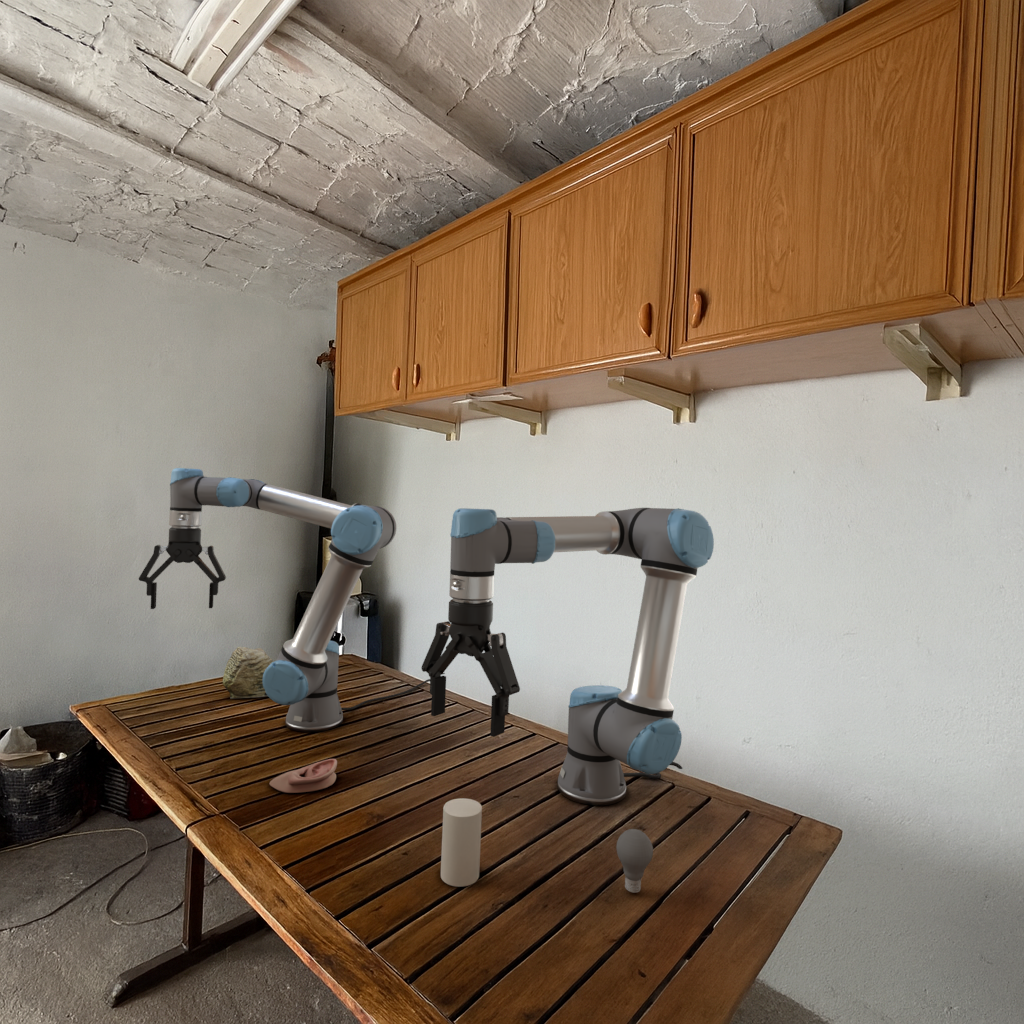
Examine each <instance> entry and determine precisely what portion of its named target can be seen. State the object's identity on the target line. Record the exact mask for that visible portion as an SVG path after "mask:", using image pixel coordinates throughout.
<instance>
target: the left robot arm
mask: <svg viewBox="0 0 1024 1024" xmlns="http://www.w3.org/2000/svg"><path fill="white" fill-rule="evenodd" d="M169 495H170V496H169V497H170V500H169V515H168V516H169V517H168V518H169V520H168V525H169V526H171V527H169V528H168V543H167V545H161V544H156V545H155V546H154V547H153V553H152V555H151V556H150V559H149V560H148V562H147V563H146V565H145V566H144V568H143V570H142V572H141V573H140V575H139V577H138V581H140V582H144V583H146V593H145V594H146V596H148V597H150V610H155V609H156V608H157V591H158V590H157V589H158V583H157V582H154V581H155V580H156V579H157V578H158V577H159V576H160V575H161V574H162V573H163V572H164V571H165V570H166V569H167V568H168V567H169V566H171V564H173V562H175V563H176V564H181V563H185V564H191V563H193V562H194V563H195V564H196V565H197V566H198V567H199V568H200V570H201V571H202V572H203V573H204V574H205V576H207V577H208V579H210V581H211V582H210V583H209V588H208V589H209V591H208V592H209V593H208V609H213V608H214V596H217V595H218V594H219V583H221V582H224V581H225V580H226V579H227V576H226V574H225V572H224V570H223V568H222V565H221V564H220V562H219V560H218V558H217V557H216V555H215V548H214V546H213V545H209V546H202V544H201V543H202V529H201V528H200V527H201V526H202V518H203V517H202V516H203V506H211V507H212V506H213V507H226V508H240V507H247V508H252V509H254V510H255V509H256V510H259V511H264V512H269V513H271V514H275V515H279V516H283V517H287V518H290V519H293V520H298V521H301V522H305V523H308V524H313V525H316V526H320V527H324V528H327V529H330V535H331V540H330V542H329V545H328V547H327V548H328V549H327V550H328V551H329V553H330V557H329V560H328V562H327V564H326V566H325V568H324V571H323V573H322V575H321V577H320V579H319V581H318V583H317V586H316V588H315V590H314V592H313V594H312V596H311V599H310V601H309V603H308V605H307V607H306V609H305V612H304V613H303V616H302V618H301V621H300V622H299V625H298V627H297V629H296V631H295V633H294V635H293V637H292V638H291V639H288V640H286V641H285V642H284V643H283V645H282V647H281V649H280V651H279V653H278V656H277V658H276V659H275V660H273V661H274V662H272V663H271V664H270V665H269V666H268V667H267V668H266V670H265V672H264V674H263V687H264V688H265V691H266V694H267V695H268V696H267V697H268V698H269V699H270V700H272V701H273V702H274V703H276V704H278V705H281V706H289V708H288V711H287V713H286V715H285V726H286V728H287V729H289V730H291V731H294V732H295V731H296V732H301V733H316V732H325V731H329V730H332V729H335V728H337V727H339V726H340V725H342V723H343V722H344V714H343V711H351V710H355V709H357V708H360V707H361V706H363V705H365V704H368V703H371V702H376V701H381V700H382V701H383V700H387V699H390V698H391V699H392V698H395V697H398V696H402V695H405V694H409V693H410V692H413V691H414V690H416V689H417V688H419V687H421V686H423V685H425V684H426V683H428V682H430V678H428V679H425V680H424V681H423V682H420V683H419V684H417V685H415V686H413V687H412V688H409V689H407V690H404V691H401V692H398V693H394V694H390V695H386V696H380V697H375V698H374V697H373V698H371V699H367V700H363V701H361V702H360V703H358V704H356V705H354V706H350V707H342V706H341V702H340V699H339V695H338V682H339V662H340V661H339V660H340V645H339V643H338V642H337V641H335V640H331V639H332V637H333V635H334V633H335V630H336V628H337V626H338V624H339V621H340V620H341V618H342V615H343V613H344V611H345V609H346V607H347V604H348V603H349V600H350V599H351V597H352V594H353V592H354V589H355V587H356V585H357V583H358V581H359V579H360V576H361V575H362V572H363V570H364V569H367V568H370V567H371V566H372V565H373V563H374V561H375V558H376V557H377V554H378V553H379V550H380V549H383V548H386V547H387V546H388V545H390V544H391V543H392V541H393V540H394V538H395V536H396V533H397V522H396V519H395V517H394V515H393V513H391V512H390V511H389V510H388V509H387V508H384V507H382V506H379V505H367V504H362V503H358V502H355V503H353V504H352V505H351V504H347V503H345V502H344V503H343V502H339V501H336V500H332V499H327V498H324V497H321V496H316V495H312V494H309V493H304V492H301V491H297V490H293V489H290V488H285V487H281V486H277V485H273V484H271V483H266V482H264V481H262V480H259V479H255V478H250V479H248V478H237V477H230V476H229V477H220V476H219V477H217V476H205V475H204V471H203V470H202V469H200V468H186V467H185V468H184V467H175V468H173V469H172V470H171V475H170V483H169ZM164 552H166V553H167V555H169V557H168V558H167V559H165V561H164V562H163V563H162V564H161V565H160V566H159V567H158V568H157V569H156V570H155V571H154V572H153V573H152V574H151V575H150V576H149V574H150V572H151V570H152V569H153V567H155V564H156V562H157V561H158V558H159V557H160V555H162V554H163V553H164ZM202 552H204V554H206V555H208V559H209V560H210V563H211V564H212V566H213V568H214V570H215V572H216V574H217V576H216V574H215V573H214V572H213V571H212V570H211V568H210V567H209V566H208V565H207V564H206V563H205V562H204V561H203V560H202V558H201V557H200V555H201V554H202Z"/></svg>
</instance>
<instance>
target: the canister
mask: <svg viewBox="0 0 1024 1024" xmlns="http://www.w3.org/2000/svg"><path fill="white" fill-rule="evenodd" d="M442 809H443V810H442V832H441V833H442V834H441V857H440V858H441V859H440V878H441V880H442V882H444V883H445V884H447V885H449V886H452V887H456V888H457V887H458V888H460V887H463V888H464V887H468V886H471V885H473V884H475V883H476V882H477V881H478V880H479V878H480V864H481V863H480V862H481V842H482V819H483V815H482V814H483V806H482V804H481V802H479V801H477V800H475V799H471V798H465V797H464V798H463V797H461V798H460V797H459V798H454V799H450V800H448V801H447V802H445V804H443V808H442Z"/></svg>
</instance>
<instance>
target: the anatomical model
mask: <svg viewBox="0 0 1024 1024" xmlns="http://www.w3.org/2000/svg"><path fill="white" fill-rule="evenodd" d="M337 766H338V760H337V759H336V758H329V759H324V760H321V761H318V762H315V763H314V762H313V763H312V764H309V765H306V766H303V767H301V768H298V769H294V770H289V771H287V772H284V773H282V774H279V775H277V776H276V777H274V778H273V779H271V780H270V781H269V786H270V787H272V788H273V789H275V790H277V791H279V792H282V793H286V794H294V793H295V794H296V793H297V794H299V793H306V792H307V793H308V792H315V791H319V790H320V791H321V790H323V789H326V788H328V787H330V786H332V785H333V784H334V783H335V782H336V780H337V773H335V771H336V769H337V768H338V767H337Z"/></svg>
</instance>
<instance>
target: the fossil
mask: <svg viewBox="0 0 1024 1024" xmlns="http://www.w3.org/2000/svg"><path fill="white" fill-rule="evenodd" d="M274 661H275V660H273V659H272V658H271V657H270V656H269V655H268V654H267V653H266V652H265V650H264V649H263V648H260V647H258V648H251V647H247V646H246V647H245V646H238V647H237V648H236V649H235V650H233V651H232V653H231V656H230V657H229V659H228V660H227V663H226V666H225V668H224V671H223V675H222V676H223V677H222V685H223V687H224V688H225V690H226V691H228V693H229V698H230V699H250V698H264V697H268V695H267V694H266V691H265V688H264V687H263V674H264V672H265V670H266V668H267V667H268V666H269V665H270V664H271V663H272V662H274Z"/></svg>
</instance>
